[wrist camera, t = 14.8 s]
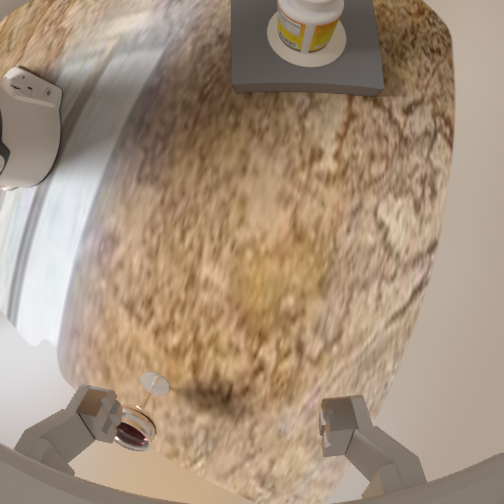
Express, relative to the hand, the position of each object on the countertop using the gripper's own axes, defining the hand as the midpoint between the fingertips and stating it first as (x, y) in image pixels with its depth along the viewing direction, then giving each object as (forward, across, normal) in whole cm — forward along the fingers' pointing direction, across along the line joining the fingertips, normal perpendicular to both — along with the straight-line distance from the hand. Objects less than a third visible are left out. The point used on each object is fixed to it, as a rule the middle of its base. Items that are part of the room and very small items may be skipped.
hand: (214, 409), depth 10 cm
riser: (+29, -7, -21) cm, 36 cm away
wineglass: (+25, +16, +25) cm, 39 cm away
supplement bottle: (+25, -7, -21) cm, 33 cm away
